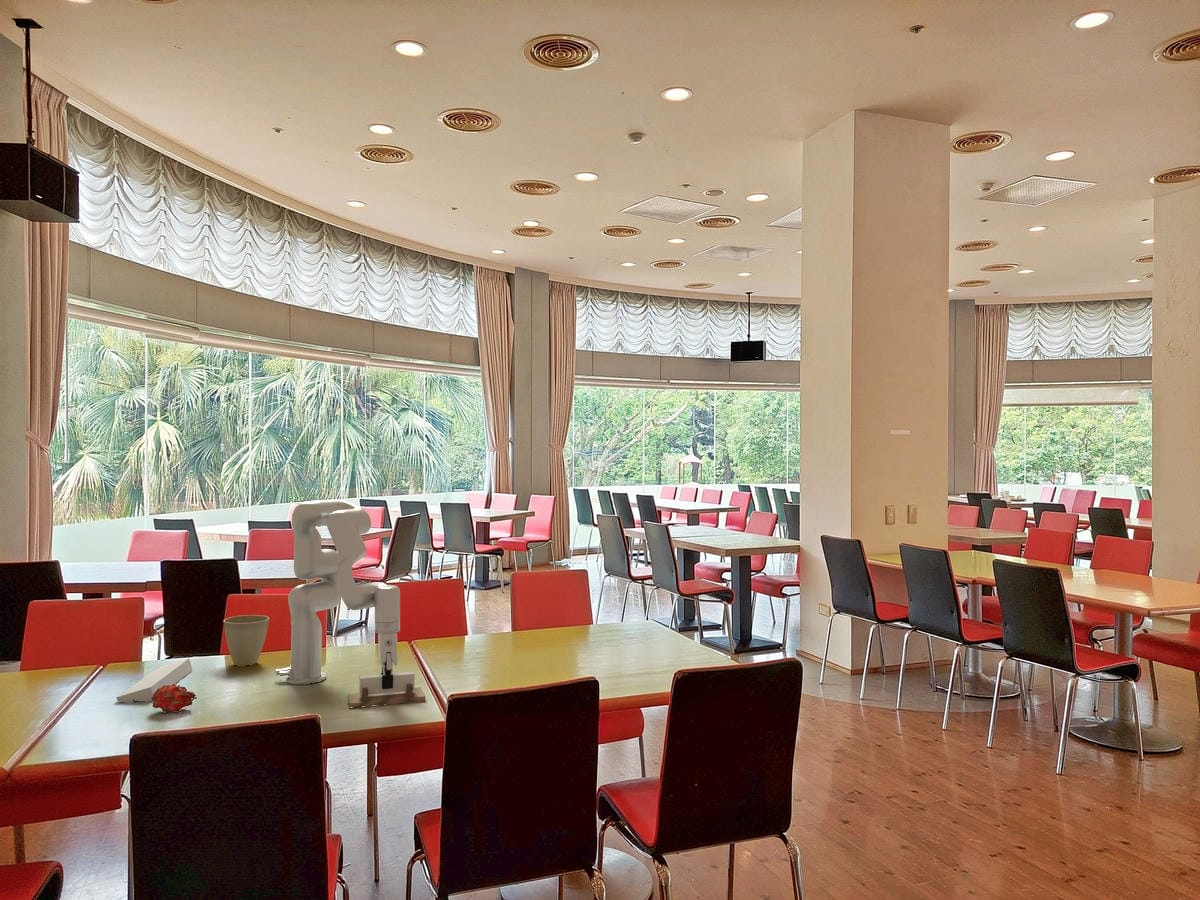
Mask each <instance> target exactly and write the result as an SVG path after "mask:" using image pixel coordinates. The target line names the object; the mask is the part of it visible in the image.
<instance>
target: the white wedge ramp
mask: <svg viewBox="0 0 1200 900" xmlns="http://www.w3.org/2000/svg"><path fill="white" fill-rule="evenodd" d="M190 672H191V673H192V672H193V666H192V662H191V659H190V658H186V659H183V660H179V661H175V662H173V663H168V664H166V665H162V666H159V667H157V668H156V669H154V670H153V671H152V672H150V673H148V674H147V675H146V676H145V677H143V678H141V679H140V680H139V681H137V682H136V683H134V684H133V685H132V686H130V687H128V688H127V689H125V690H124V691H122V693H120V694H119V695H117V696H116V697H115V699H116V700H117V702H118V703H119V702H122V703H125V702H130V703H133V701H134V702H135V701H137V702H143V701H152V699H151V698H152V697H153V694H154V693H155V692H156V691H157V689H158V688H162V687H163V685H169V686H172V685H173V684H176V683H177V684H178V683H179V682H181V681H182V680H183V679H184V678H185V676H186V677H187V676H188V675H189V674H190ZM181 679H182V680H181ZM180 680H181V681H180ZM177 684H176V685H177Z"/></svg>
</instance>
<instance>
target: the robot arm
mask: <svg viewBox="0 0 1200 900" xmlns="http://www.w3.org/2000/svg"><path fill="white" fill-rule="evenodd" d="M291 526H292V532H293V533H292V534H293V539H294V543H293V572H294V575H295V577H296V578H297V579H298V580H300V581H302V580H303V581H310V580H316V579H320V581H318V582H310V583H304V584H303V583H302V584H300V585H297V586H295V587H293V588H292V589H291V590H290V591H289V593H288V597H287V599H288V600H287V602H288V608H289V613H290V626H291V629H290V665H289V667H286V668H277V669H276V671H275V676H279V677H285V676H286V677H285V682H286V683H287V684H290V685H311V684H310V683H312V684H315V683H316V682H317V683H321V682H322V680H323V681H324V680H326V678H327V673H325V672H324V671H322V655H323V654H322V649H323V648H322V645H323V644H322V643H323V638H322V637H323V636H322V635H323V633H322V632H323V630H322V629H323V628H322V621H321V620H320V618H319V616H318V615H317V612H319V611H320V612H321V611H325V610H331V609H334V608H336V607H337V606H338V605H339V604H340V602H341V601H342V602H343V604H344V605H345V606H346V607H347V609H349V610H351V611H360V610H365V609H369V608H371V609H372V608H374V630H373V631H374V633H376V634H378V639H377V640H378V641H377V642H378V643H377V644H378V647H377V648H378V659H379V662H380V666H381V673H380V674H383V676H382V689H392V688H393V673H394V670H393V667H394V666H393V665H395V666H397V665H398V664H399V662H398V658H399V657H398V634H397V633H399V632H400V631H401V589H400V588H399V586H397V585H395V584H394V585H392V584H386V583H383V582H381V581H375V582H368V583H367V582H366V583H361V584H357V583H356V581H355V578H354V577H353V565H354V564H355V563H357V562H358V561H360V560H361V559H363V558H364V557H365V556H366V554H367V553H368V552H367V550H368V549H367V547H366V544H365V542H364V540H363V537H362V535H363V534H364V535H365V534H367V533H368V532H369V531H370V529H371V527H372V519H371V517H370V515H369V513H368V512H367V511H366V510H365V509H363V508H362V507H360V506H358V505H355V504H353V503H351V502H349V501H346V500H345V499H320V500H319V499H318V500H309V501H308V500H307V501H304V502H301V503H299V504H298V505H296V506H295V507H294V510H293V511H292V514H291ZM323 526H325V527H326V528H327V530H328V532H329V534H330V537H331V539H332V543H333V544H334V548H335V549H331V548H323V549H322V536H321V534H320V531H319V530H318V528H317V527H323ZM317 683H316V684H317Z"/></svg>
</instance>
